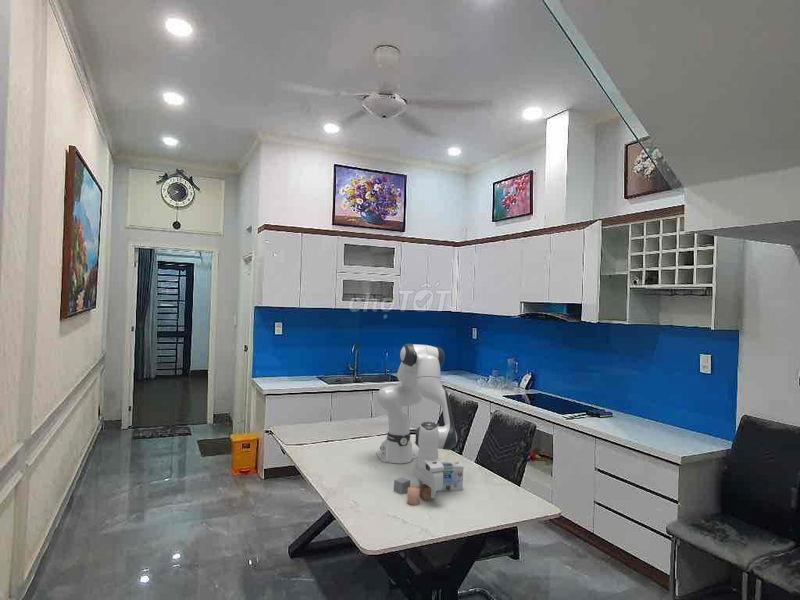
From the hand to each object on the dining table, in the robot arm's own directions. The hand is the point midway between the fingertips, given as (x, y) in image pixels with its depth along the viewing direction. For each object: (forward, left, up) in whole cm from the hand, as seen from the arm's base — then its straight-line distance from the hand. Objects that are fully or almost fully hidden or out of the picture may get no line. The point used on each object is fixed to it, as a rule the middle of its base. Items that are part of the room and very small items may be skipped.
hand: (426, 493), depth 217 cm
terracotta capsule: (+3, -8, -2) cm, 9 cm away
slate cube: (-10, -7, -2) cm, 12 cm away
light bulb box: (-6, +15, -2) cm, 16 cm away
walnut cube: (0, 0, -2) cm, 2 cm away
